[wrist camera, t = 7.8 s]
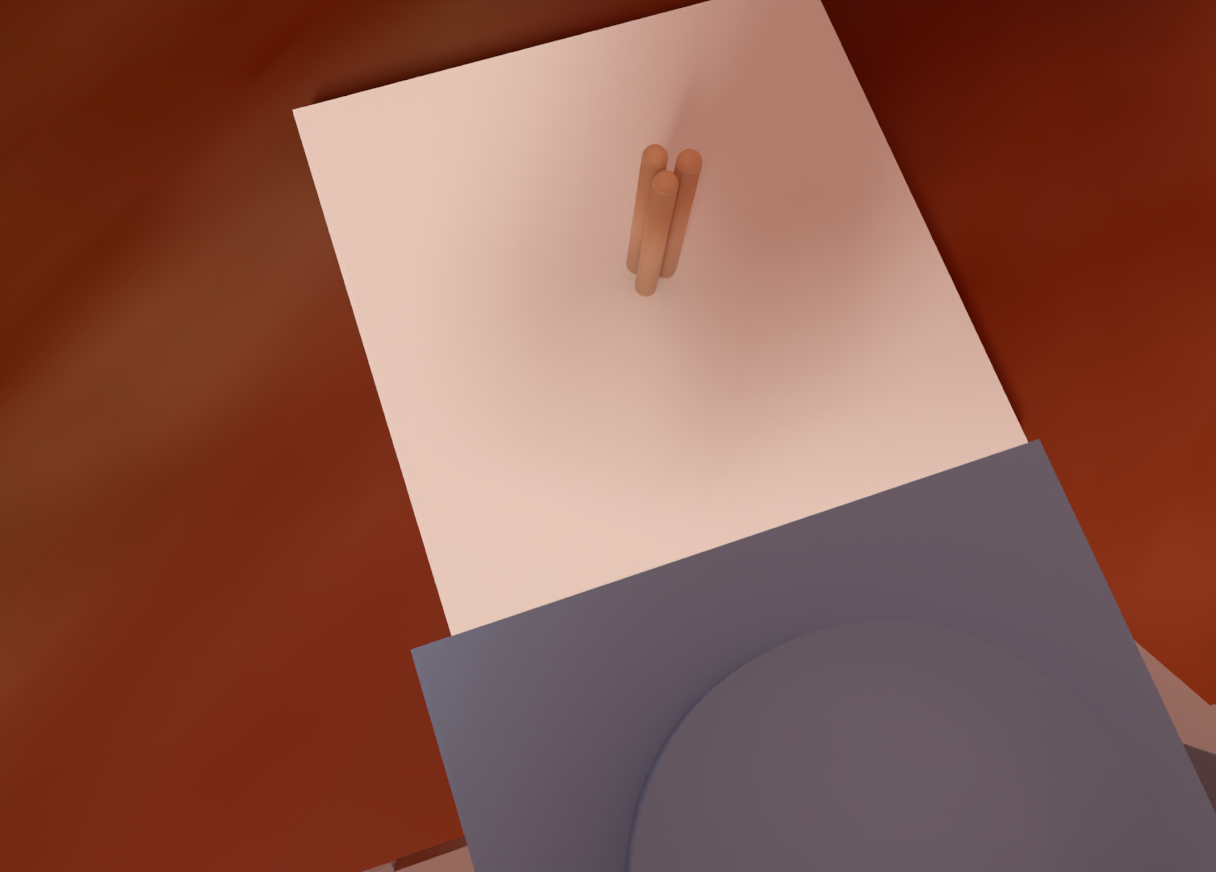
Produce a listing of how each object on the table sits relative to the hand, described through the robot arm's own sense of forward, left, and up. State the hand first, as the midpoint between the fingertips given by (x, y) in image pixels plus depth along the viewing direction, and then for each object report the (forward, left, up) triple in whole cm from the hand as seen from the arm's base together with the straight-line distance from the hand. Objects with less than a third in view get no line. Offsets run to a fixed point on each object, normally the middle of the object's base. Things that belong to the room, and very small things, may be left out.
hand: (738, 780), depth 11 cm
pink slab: (+5, +12, -17) cm, 22 cm away
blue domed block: (0, -1, -4) cm, 4 cm away
